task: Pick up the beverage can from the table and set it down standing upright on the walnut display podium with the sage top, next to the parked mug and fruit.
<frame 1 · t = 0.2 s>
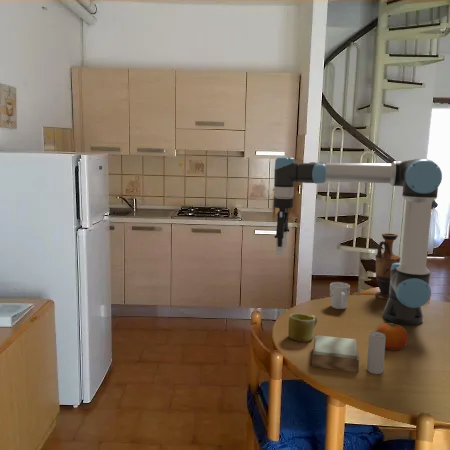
hand: (281, 251, 179), 28 cm above the table, fingers open, 13 cm apart
podium: (334, 359, 147), on the table
mug: (303, 337, 165), on the table
fruit: (390, 347, 157), on the table
vase: (384, 297, 213), on the table
mug 2: (339, 308, 196), on the table
beverage can: (374, 371, 139), on the table
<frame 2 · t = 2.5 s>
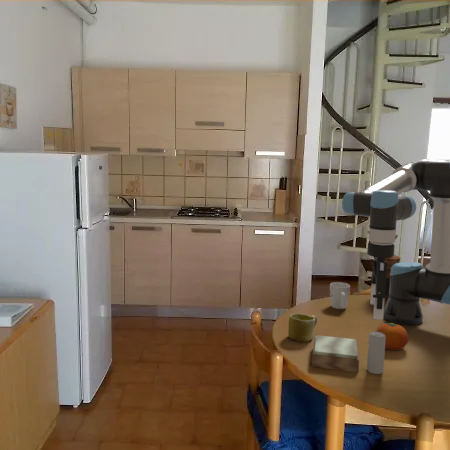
hand: (376, 311, 137), 19 cm above the table, fingers open, 13 cm apart
nothing on the table moved.
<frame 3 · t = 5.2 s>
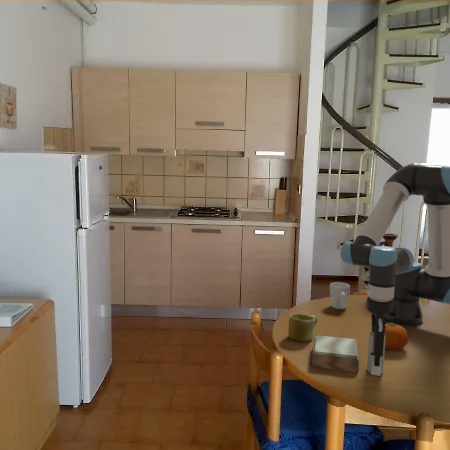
hand: (374, 370, 139), 0 cm above the table, fingers closed on beverage can, 5 cm apart
beverage can: (374, 371, 139), on the table, touching gripper
everything else where it was.
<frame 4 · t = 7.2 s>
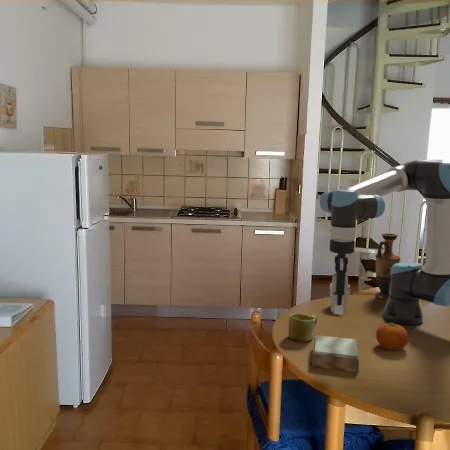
hand: (338, 310, 144), 17 cm above the table, fingers closed on beverage can, 5 cm apart
beverage can: (338, 312, 144), point 16 cm above the table, touching gripper
everything else where it was.
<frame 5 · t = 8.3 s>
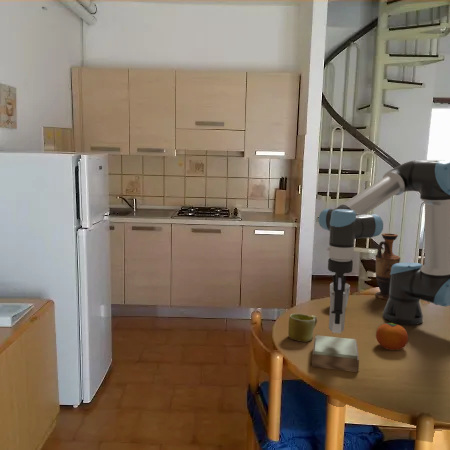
hand: (336, 329, 145), 10 cm above the table, fingers closed on beverage can, 5 cm apart
beverage can: (336, 330, 145), point 10 cm above the table, touching gripper
everything else where it was.
when the fingers open (7 cm above the table, at t = 9.2 s): beverage can drops 1 cm, resting on podium.
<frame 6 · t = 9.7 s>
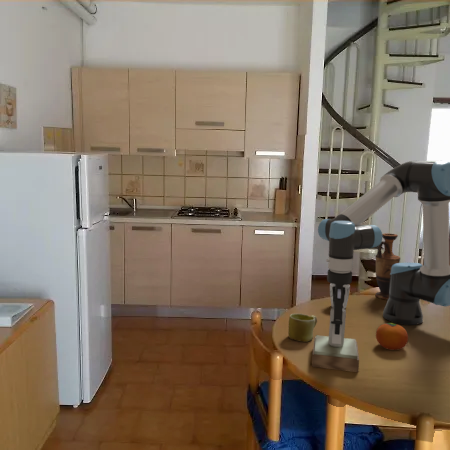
hand: (336, 335, 146), 8 cm above the table, fingers open, 11 cm apart
beverage can: (335, 345, 146), point 5 cm above the table, touching podium
everything else where it was.
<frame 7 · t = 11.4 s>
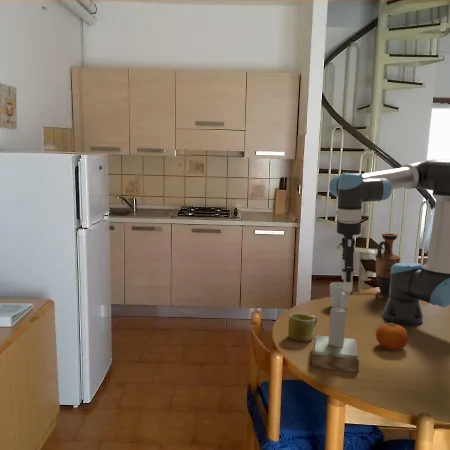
hand: (346, 284, 149), 23 cm above the table, fingers open, 13 cm apart
nothing on the table moved.
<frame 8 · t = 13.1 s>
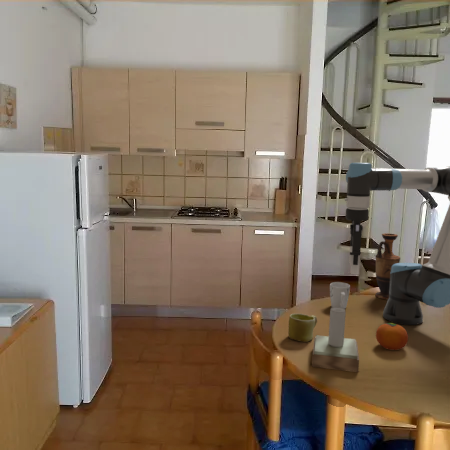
hand: (353, 269, 157), 27 cm above the table, fingers open, 13 cm apart
nothing on the table moved.
at the end: beverage can inside the target area on the podium (0.1 cm from its centre), point 4.8 cm above the podium's base; beverage can tilted 0°; the gripper is holding nothing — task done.
